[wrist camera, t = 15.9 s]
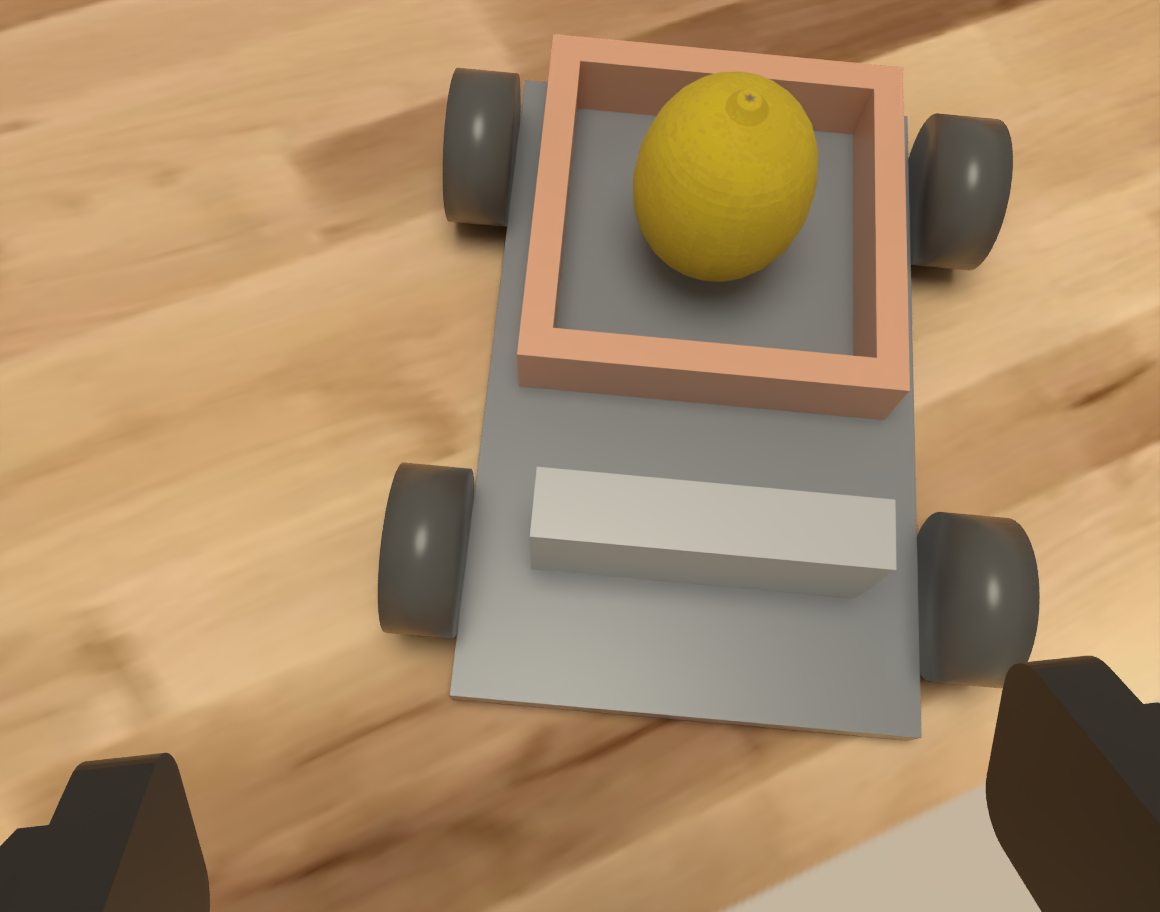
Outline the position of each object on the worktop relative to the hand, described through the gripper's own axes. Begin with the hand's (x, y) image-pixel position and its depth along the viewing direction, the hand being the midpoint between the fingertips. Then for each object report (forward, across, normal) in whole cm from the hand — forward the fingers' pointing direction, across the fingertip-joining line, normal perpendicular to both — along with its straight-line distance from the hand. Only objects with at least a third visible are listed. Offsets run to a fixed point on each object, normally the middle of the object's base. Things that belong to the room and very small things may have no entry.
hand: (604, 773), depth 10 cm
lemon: (+27, -7, +3) cm, 28 cm away
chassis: (+24, -6, +7) cm, 26 cm away
